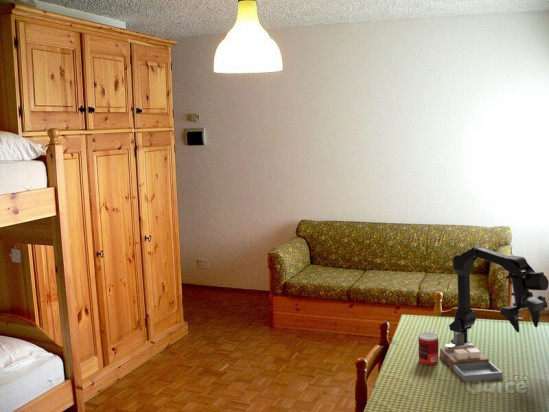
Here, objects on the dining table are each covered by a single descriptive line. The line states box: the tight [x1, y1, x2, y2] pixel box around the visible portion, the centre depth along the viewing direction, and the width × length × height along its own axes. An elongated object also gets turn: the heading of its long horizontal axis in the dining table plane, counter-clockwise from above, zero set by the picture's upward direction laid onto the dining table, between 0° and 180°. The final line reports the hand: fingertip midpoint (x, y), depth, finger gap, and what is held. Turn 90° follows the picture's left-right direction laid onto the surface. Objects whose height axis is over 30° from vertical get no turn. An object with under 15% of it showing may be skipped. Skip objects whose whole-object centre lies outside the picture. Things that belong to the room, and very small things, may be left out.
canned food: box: [418, 331, 439, 366], centre depth 235 cm, size 8×8×11 cm
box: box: [452, 361, 504, 383], centre depth 223 cm, size 10×15×2 cm, turn 96°
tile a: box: [454, 349, 468, 360], centre depth 231 cm, size 4×4×2 cm
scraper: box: [444, 331, 474, 352], centre depth 238 cm, size 2×11×7 cm, turn 96°
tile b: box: [466, 347, 481, 358], centre depth 231 cm, size 4×4×2 cm
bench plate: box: [439, 345, 490, 370], centre depth 234 cm, size 14×14×4 cm
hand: (527, 329), depth 226 cm, fingers open, 9 cm apart
